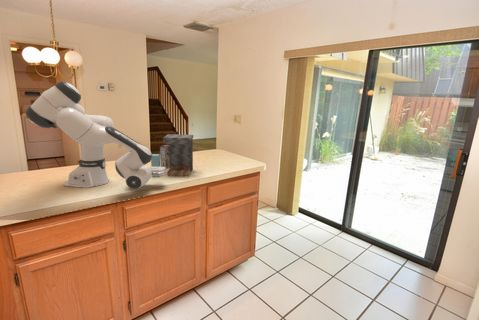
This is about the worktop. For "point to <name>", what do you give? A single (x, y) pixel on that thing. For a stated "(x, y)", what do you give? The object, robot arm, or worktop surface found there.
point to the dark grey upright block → (180, 154)
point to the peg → (155, 161)
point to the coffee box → (164, 156)
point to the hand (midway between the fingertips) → (150, 167)
